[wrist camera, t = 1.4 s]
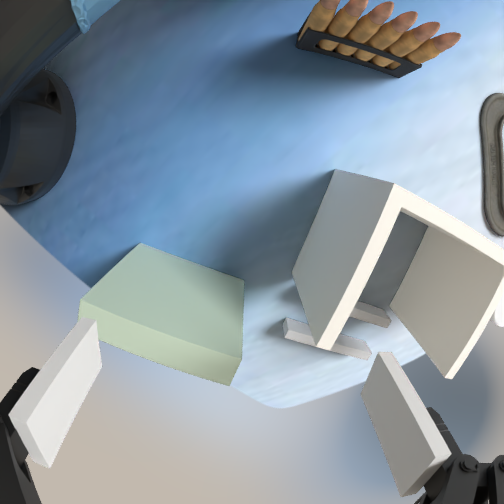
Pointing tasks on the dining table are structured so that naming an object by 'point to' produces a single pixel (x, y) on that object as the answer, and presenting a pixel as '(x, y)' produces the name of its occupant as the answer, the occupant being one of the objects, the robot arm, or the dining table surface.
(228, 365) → the door
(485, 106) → the c clamp
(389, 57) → the ammunition clip
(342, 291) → the cabinet
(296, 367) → the dining table surface
